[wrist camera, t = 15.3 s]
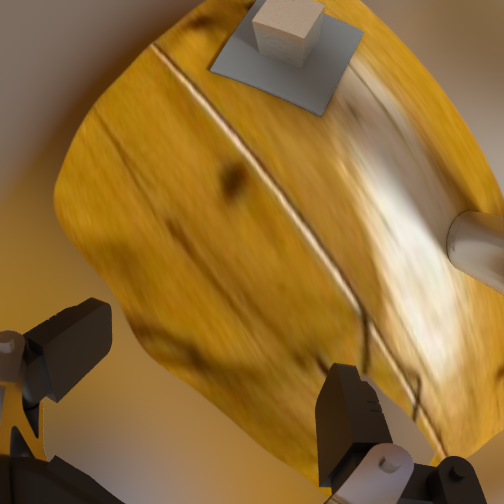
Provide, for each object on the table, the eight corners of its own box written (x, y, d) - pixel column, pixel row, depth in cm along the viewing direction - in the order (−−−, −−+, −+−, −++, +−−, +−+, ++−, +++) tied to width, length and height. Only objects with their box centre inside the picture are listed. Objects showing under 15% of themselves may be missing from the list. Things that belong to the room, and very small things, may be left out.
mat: (363, 33, 28) (368, 23, 25) (320, 117, 32) (323, 110, 29) (262, -5, 28) (260, -16, 25) (210, 72, 32) (204, 63, 29)
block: (318, 38, 29) (325, 5, 21) (301, 69, 30) (304, 38, 22) (278, 23, 29) (275, -12, 21) (259, 53, 30) (251, 20, 22)
